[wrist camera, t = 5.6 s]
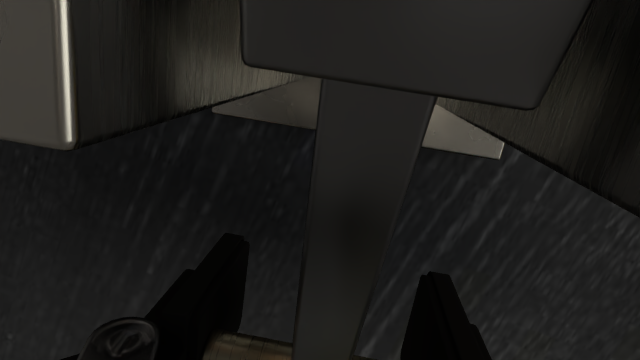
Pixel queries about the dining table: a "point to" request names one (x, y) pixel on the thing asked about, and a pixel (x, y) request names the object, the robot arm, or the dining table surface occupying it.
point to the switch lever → (382, 128)
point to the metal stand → (297, 86)
